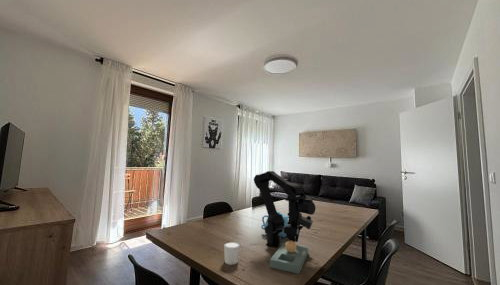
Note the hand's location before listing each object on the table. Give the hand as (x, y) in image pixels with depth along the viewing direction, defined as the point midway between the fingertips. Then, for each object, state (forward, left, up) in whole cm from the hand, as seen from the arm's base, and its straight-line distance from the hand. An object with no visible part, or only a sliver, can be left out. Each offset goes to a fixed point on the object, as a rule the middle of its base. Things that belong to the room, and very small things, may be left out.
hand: (294, 244), depth 103 cm
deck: (0, -8, -4) cm, 9 cm away
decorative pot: (-16, +23, -5) cm, 28 cm away
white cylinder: (-23, -22, -5) cm, 32 cm away
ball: (0, -7, +1) cm, 7 cm away
